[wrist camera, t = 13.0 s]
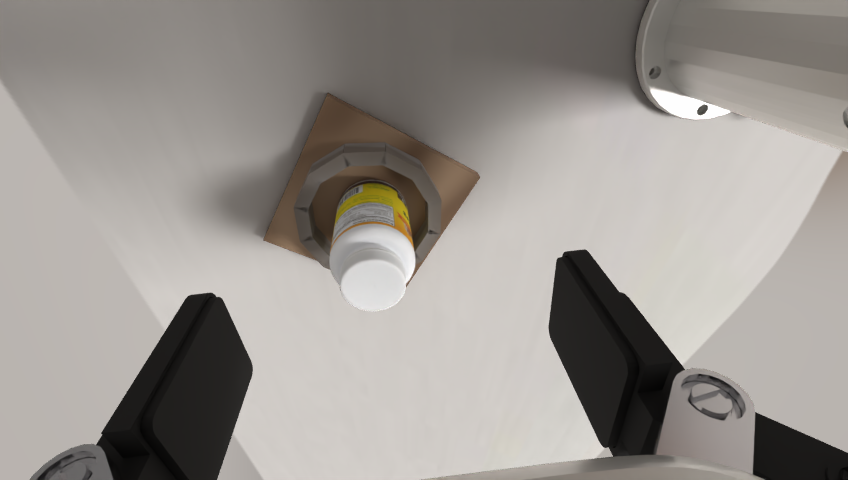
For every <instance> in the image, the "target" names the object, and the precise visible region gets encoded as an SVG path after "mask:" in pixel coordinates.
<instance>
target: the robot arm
mask: <svg viewBox="0 0 848 480" xmlns="http://www.w3.org/2000/svg"><path fill="white" fill-rule="evenodd" d="M635 60H636V71H637V75H638V79H639V82H640V85H641V88H642V89H643V91H644V93H645V94H646V96H647V98H648V99H649V100H650V101H651V102H652V103H653V104H654V105H655V106H656V107H657V108H659V109H661V110H663V111H665V112H666V113H668V114H671V115H674V116H676V117H679V118H683V119H690V120H701V119H710V118H714V117H718V116H722V115H725V114H727V113H729V112H734V113H736V114H739V115H742V116H745V117H748V118H751V119H754V120H757V121H759V122H762V123H765V124H768V125H771V126H774V127H777V128H780V129H783V130H785V131H788V132H791V133H794V134H797V135H800V136H803V137H806V138H809V139H811V140H814V141H817V142H820V143H823V144H826V145H829V146H832V147H834V148H837V149H840V150H843V151H846V152H848V0H649V3H648V5H647V7H646V10H645V12H644V15H643V17H642V20H641V24H640V28H639V32H638V36H637V42H636V53H635ZM650 70H651V71H650ZM549 334H550V338H551V340H552V342H553V344H554V347H555V349H556V351H557V353H558V355H559V357H560V359H561V361H562V364H563V366H564V368H565V370H566V372H567V374H568V376H569V378H570V380H571V383H572V385H573V387H574V389H575V391H576V393H577V395H578V397H579V400H580V402H581V404H582V406H583V408H584V410H585V412H586V414H587V416H588V419H589V421H590V423H591V425H592V427H593V429H594V431H595V433H596V435H597V438H598V440H599V442H600V443H601V445H602V446H603V447H604V448H607V447H609V449H610V451H611V453H612V455H613V457H606V458H596V459H587V460H578V461H568V462H559V463H550V464H542V465H534V466H526V467H518V468H510V469H502V470H494V471H486V472H478V473H470V474H462V475H454V476H446V477H438V478H430V479H423V480H848V453H846V452H844V451H842V450H840V449H837V448H835V447H833V446H831V445H828V444H826V443H824V442H821V441H819V440H817V439H815V438H813V437H810V436H808V435H805V434H803V433H801V432H799V431H797V430H794V429H792V428H790V427H788V426H785V425H783V424H780V423H778V422H776V421H774V420H772V419H769V418H767V417H765V416H762V415H760V414H758V413H756V412H755V409H754V404H753V402H752V400H751V399H750V397H749V395H748V394H747V393H746V392H745V391H744V390H743V389H742V388H741V387H740V386H739V385H738V384H736V383H735V382H734V381H732V380H731V379H729V378H728V377H725V376H723V375H721V374H719V373H717V372H714V371H710V370H706V369H696V368H692V369H687V370H685V369H684V368H683V366H682V365H681V364H680V362H679V361H678V360H677V359H676V357H675V356H674V355H673V353H672V352H671V351H670V350H669V348H668V347H667V346H666V345H665V343H664V342H663V341H662V339H661V338H660V337H659V336H658V334H657V333H656V332H655V331H654V329H653V328H652V327H651V325H650V324H649V323H648V322H647V320H646V319H645V318H644V316H643V315H642V314H641V313H640V311H639V310H638V309H637V308H636V306H635V305H634V304H633V302H632V301H631V300H630V299H629V297H628V296H626V295H625V294H624V293H621V292H619V291H618V290H617V289H616V287H615V286H614V285H613V283H612V282H611V281H610V279H609V278H608V277H607V276H606V274H605V273H604V272H603V270H602V269H601V268H600V266H599V265H598V264H597V263H596V261H595V260H594V259H593V257H592V256H591V255H590V253H589V252H588V251H587V250H576V251H567V252H564V254H563V256H562V257H560V258H558V259H557V262H556V270H555V278H554V287H553V295H552V303H551V312H550V320H549ZM252 372H253V367H252V362H251V360H250V358H249V356H248V353H247V351H246V349H245V347H244V345H243V343H242V340H241V338H240V336H239V334H238V332H237V330H236V327H235V325H234V323H233V321H232V319H231V317H230V314H229V312H228V310H227V308H226V306H225V303H224V301H223V300H222V298H220V297H216V296H215V295H214V294H213V293H204V294H196V295H190V296H188V297H187V298H186V299H185V301H184V302H183V304H182V306H181V307H180V309H179V310H178V312H177V314H176V315H175V317H174V318H173V320H172V321H171V323H170V325H169V326H168V328H167V329H166V331H165V333H164V334H163V336H162V337H161V339H160V341H159V342H158V344H157V345H156V347H155V349H154V350H153V352H152V353H151V355H150V356H149V358H148V360H147V361H146V363H145V364H144V366H143V368H142V369H141V371H140V372H139V374H138V375H137V377H136V379H135V380H134V382H133V384H132V385H131V387H130V388H129V390H128V391H127V393H126V395H125V396H124V398H123V400H122V401H121V403H120V404H119V406H118V407H117V409H116V410H115V412H114V414H113V415H112V417H111V419H110V420H109V422H108V423H107V425H106V426H105V428H104V430H103V431H102V433H101V434H102V436H101V438H100V440H99V441H98V443H97V444H96V445H94V444H84V445H80V446H77V447H74V448H70V449H69V450H67V451H65V452H62V453H61V454H59V455H57V456H56V457H54V458H53V459H52V460H50V461H48V462H47V463H46V464H45V465H43V466H42V467H41V468H40V469H39V470H38V471H37V472H36V473H35V474H34V475H33V476H32V477H31V478H30V480H217V478H218V475H219V472H220V469H221V466H222V463H223V460H224V457H225V454H226V451H227V448H228V445H229V442H230V439H231V436H232V433H233V430H234V427H235V424H236V421H237V418H238V416H239V413H240V410H241V407H242V404H243V401H244V398H245V395H246V392H247V389H248V386H249V383H250V380H251V377H252Z"/></svg>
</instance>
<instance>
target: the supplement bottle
mask: <svg viewBox="0 0 848 480" xmlns="http://www.w3.org/2000/svg"><path fill="white" fill-rule="evenodd" d="M329 263H330V269H331V273H332V275H333V277H334V279H335V280H336V282H337V283H338V284H339V285H340V291H341V294H342V296H343V297H344V299H345V300H346V301H347V302H348V303H349V304H350V305H352V306H353V307H355V308H357V309H360V310H364V311H381V310H385V309H388V308H390V307H392V306H393V305H395V304H396V303H397V302H398V301H399V300H400V299H401V298H402V297H403V295H404V292H405V289H406V284H407V282H408V281H409V280H410V278H411V276H412V274H413V272H414V269H415V252H414V246H413V239H412V233H411V227H410V222H409V216H408V210H407V205H406V202H405V199H404V197H403V196H402V194H401V193H400V192H399V191H398V190H397V189H396V188H395V187H394V186H392V185H391V184H389V183H386V182H384V181H380V180H364V181H360V182H358V183H355V184H354V185H352V186H350V187H349V188H348V189H347V190H346V191H345V192H344V193H343V195H342V196H341V198H340V201H339V203H338V208H337V213H336V219H335V225H334V231H333V238H332V244H331V250H330V260H329Z"/></svg>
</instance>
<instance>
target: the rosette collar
mask: <svg viewBox="0 0 848 480" xmlns="http://www.w3.org/2000/svg"><path fill="white" fill-rule="evenodd" d="M479 178H480V176H479V175H478V173H477V172H475V171H474V170H472V169H470V168H468V167H466V166H464V165H462V164H460V163H459V162H457V161H455V160H453V159H451V158H449V157H447V156H445V155H444V154H442V153H440V152H438V151H436V150H434V149H432V148H430V147H428V146H427V145H425V144H423V143H421V142H419V141H417V140H415V139H413V138H412V137H410V136H408V135H406V134H404V133H402V132H400V131H398V130H397V129H395V128H393V127H391V126H389V125H387V124H385V123H383V122H382V121H380V120H378V119H376V118H374V117H372V116H370V115H368V114H366V113H365V112H363V111H361V110H359V109H357V108H355V107H353V106H351V105H350V104H348V103H346V102H344V101H342V100H340V99H338V98H336V97H335V96H333V95H331V94H329V93H328V94H327V96H326V98H325V100H324V103H323V105H322V107H321V109H320V112H319V114H318V116H317V119H316V121H315V123H314V125H313V128H312V130H311V132H310V135H309V137H308V139H307V141H306V144H305V146H304V148H303V151H302V153H301V155H300V157H299V160H298V162H297V164H296V167H295V169H294V171H293V173H292V176H291V178H290V180H289V183H288V185H287V187H286V189H285V192H284V194H283V196H282V198H281V201H280V203H279V205H278V208H277V210H276V212H275V214H274V217H273V219H272V221H271V224H270V226H269V228H268V230H267V233H266V235H265V237H264V241H267V242H269V243H272V244H275V245H277V246H280V247H283V248H285V249H288V250H291V251H293V252H296V253H299V254H301V255H304V256H307V257H309V258H312V259H315V260H317V261H318V262H319V263H320V264H321V265H322V266H323V267H325V268H327V269H330V263H329V260H330V250H331V244H332V238H333V231H334V225H335V219H336V213H337V208H338V203H339V201H340V198H341V196H342V195H343V193H344V192H345V191H346V190H347V189H348V188H349V187H350V186H352V185H354V184H355V183H358V182H360V181H364V180H380V181H384V182H386V183H389V184H391V185H392V186H394V187H395V188H396V189H397V190H398V191H399V192H400V193H401V194H402V196H403V197H404V199H405V202H406V205H407V210H408V216H409V222H410V227H411V233H412V239H413V246H414V252H415V269H414V272H413V274H412V276H411V278H410V280H409V281H408V282H407V284H406V287H407V285H408V284H409V282H410V281H411V279H412V278H413V276H414V275H415V273H416V272H417V270H418V269H419V267H420V266H421V264H422V263H423V261H424V260H425V258H426V257H427V255H428V254H429V253H430V251H431V250H432V248H433V247H434V245H435V244H436V242H437V241H438V239H439V238H440V236H441V235H442V233H443V232H444V230H445V229H446V227H447V226H448V224H449V223H450V221H451V220H452V218H453V217H454V215H455V214H456V212H457V211H458V209H459V208H460V206H461V205H462V204H463V202H464V201H465V199H466V198H467V196H468V195H469V193H470V192H471V190H472V189H473V187H474V186H475V184H476V183H477V181H478V180H479ZM330 270H331V269H330Z"/></svg>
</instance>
